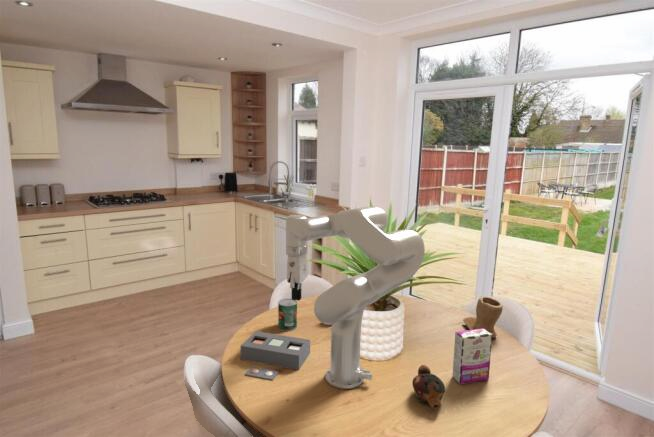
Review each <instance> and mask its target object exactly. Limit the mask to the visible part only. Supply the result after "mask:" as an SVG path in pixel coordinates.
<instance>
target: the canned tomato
mask: <svg viewBox="0 0 654 437" xmlns="http://www.w3.org/2000/svg"><path fill="white" fill-rule="evenodd" d="M277 309H278V312H277V313H278V315H277V316H278V318H277V320H278V321H277V323H278V326H277V327H278V329H279V330H280V331H285V332H289V331H293V330H295V329H297V327H298V326H297V325H298V300H292V298H282V299H280V300H279V301H278V308H277Z"/></svg>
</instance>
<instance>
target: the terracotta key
mask: <svg viewBox="0 0 654 437" xmlns="http://www.w3.org/2000/svg"><path fill="white" fill-rule="evenodd" d="M263 342H264V341H261V340H255V341H254V342H253V343H258V344H262V343H263Z"/></svg>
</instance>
